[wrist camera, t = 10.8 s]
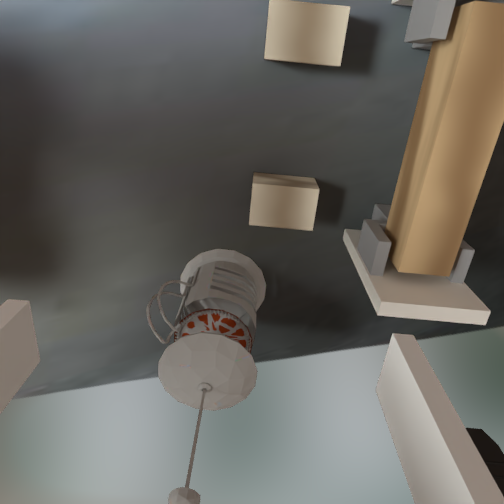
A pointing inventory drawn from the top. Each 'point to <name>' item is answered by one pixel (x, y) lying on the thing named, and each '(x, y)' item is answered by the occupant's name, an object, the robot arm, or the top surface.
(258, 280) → the french press
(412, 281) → the brackets
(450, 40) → the rail
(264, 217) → the spacers
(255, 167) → the top surface
